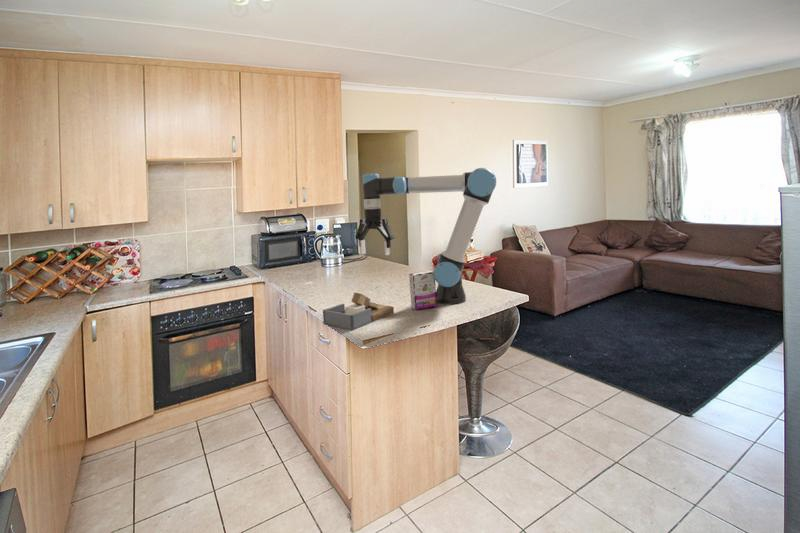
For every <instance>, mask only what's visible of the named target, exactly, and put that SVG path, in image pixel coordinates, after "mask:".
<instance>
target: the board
mask: <svg viewBox="0 0 800 533" xmlns="http://www.w3.org/2000/svg"><path fill="white" fill-rule="evenodd" d="M377 304H378V305H379V306H380V308H379V309H374V308H371V313H372V323H373V322H376V321H378V320H381V319H384V318H385V317H388V316H390V315H392V314H395V311H394V306H392V305H385V304H379V303H377ZM366 309H368V308H365V310H366Z"/></svg>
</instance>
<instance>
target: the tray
mask: <svg viewBox="0 0 800 533" xmlns="http://www.w3.org/2000/svg"><path fill="white" fill-rule="evenodd" d="M345 307H346V306H345V303H340V304H337V305H335V306H332V307H327V308H326V309H322V316H323V317H322V318H323V325H327V326H331V327H335V328H340V329H345V330H349V331H355V330H357V329H360V328H362V327H364V326H366V325H369V324H370V323H373V322H372V313H371V308H368V309H366V310H363V311H360V312H358V313H355V314H352V315H350V314H344V313H345Z"/></svg>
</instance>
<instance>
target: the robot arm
mask: <svg viewBox="0 0 800 533" xmlns="http://www.w3.org/2000/svg"><path fill="white" fill-rule="evenodd" d="M496 186H497V178H496V175H495V173H494V172H493V170H491V169H489V168H486V167H479V168H475V169H474V170H473V171H470V172H463V173H462V174H454V175H453V174H451V175H430V176H413V177H412V176H410V177H406V176H405V177H404V176H394V177H393V176H391V177H380V174H379V173H366V174H363V175H362V191H363V192H362V193H363V194H362V195H363V208H364V218H362V219H359V226H358V228H357V231H356V234H355V236H354V237H355V238H354V239H356V240H358V243H359V247H360V254H361V255H366V254H367V251H366V250H367V248H366V239H365V238H366V236H367V234H368V232H369V231H370V230H377V231H378V232H379V233H380V234H381V236H382V237H383V238H384V242H383V243H384V255H385V256H389V255H390V252H391V251H390V248H391V246H392V245H391V240H394V239H395V236H394V234H393V231H392V229H391V228H390V226H389V223H388V218H381V217H382V209H381V207H382V204H381V196H384V195H401V194H428V193H431V194H433V193H452V192H453V193H457V192H458V193H459V192H460V193H461V192H462V196H463V198H464V201H463V203H462V206H461V207H460V208H461V209H460V211H459V213H458V215H457V219H456V222H455V225H454V227H453V229H452V230H453V231H452V232H451V235H450V238H449V241H448V242H447V243H448V244H447V247H446V249H445V250H444V251H441V253H439V254H438V255H437V258H436V260H437V264H436V266H435V267H434V269H433V272H434V278H435V283H437V287H436V302H437V303H439V304H445V305H446V304H447V305H448V304H451V305H453V304H461V303H464V302H465V301H467V299H466V298H467V296H466V292H465V289H464V286H463V270H464V267H465V264H466V262H467V261H466V259H465V254H466V252H467V250H468V247H469V244H470V242H471V239H472V237H473V234H474V232H475V229H476V226H477V223H478V221H479V218H480V216H481V213H482V211H483V208H484V206H486V205H489V202H490V201H491V197H492V195H493V192H494V190H495V188H496ZM365 224H366V225H365Z"/></svg>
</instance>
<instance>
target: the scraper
mask: <svg viewBox="0 0 800 533" xmlns="http://www.w3.org/2000/svg"><path fill="white" fill-rule="evenodd" d="M351 302H352V303H353V304H358V305H364V306H365V308H374V309H379V308H380V306H379V305H378V304H379V303H376V302H371V299H370V298H369V297H367V296H366V295H364V294H363V293H359V292H354V293H353V295H352V298H351Z"/></svg>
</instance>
